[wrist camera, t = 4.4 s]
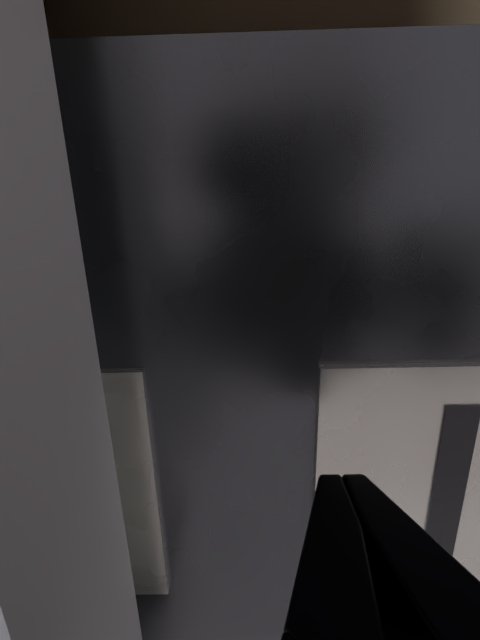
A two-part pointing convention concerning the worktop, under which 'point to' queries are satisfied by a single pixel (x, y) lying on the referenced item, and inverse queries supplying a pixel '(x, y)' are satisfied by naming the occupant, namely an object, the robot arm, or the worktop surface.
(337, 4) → the worktop surface
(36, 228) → the swing arm
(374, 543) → the robot arm
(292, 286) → the label board
